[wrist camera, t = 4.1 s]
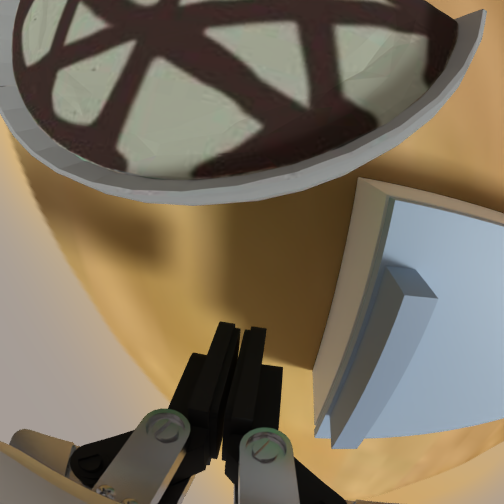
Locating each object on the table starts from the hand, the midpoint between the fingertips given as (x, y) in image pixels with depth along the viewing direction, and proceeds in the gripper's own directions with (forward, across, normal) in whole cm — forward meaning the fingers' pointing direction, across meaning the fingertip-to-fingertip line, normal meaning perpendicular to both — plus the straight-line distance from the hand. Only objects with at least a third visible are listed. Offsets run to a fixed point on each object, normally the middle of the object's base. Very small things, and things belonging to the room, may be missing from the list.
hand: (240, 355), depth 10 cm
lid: (+1, -13, 0) cm, 13 cm away
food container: (+6, +2, -9) cm, 11 cm away
